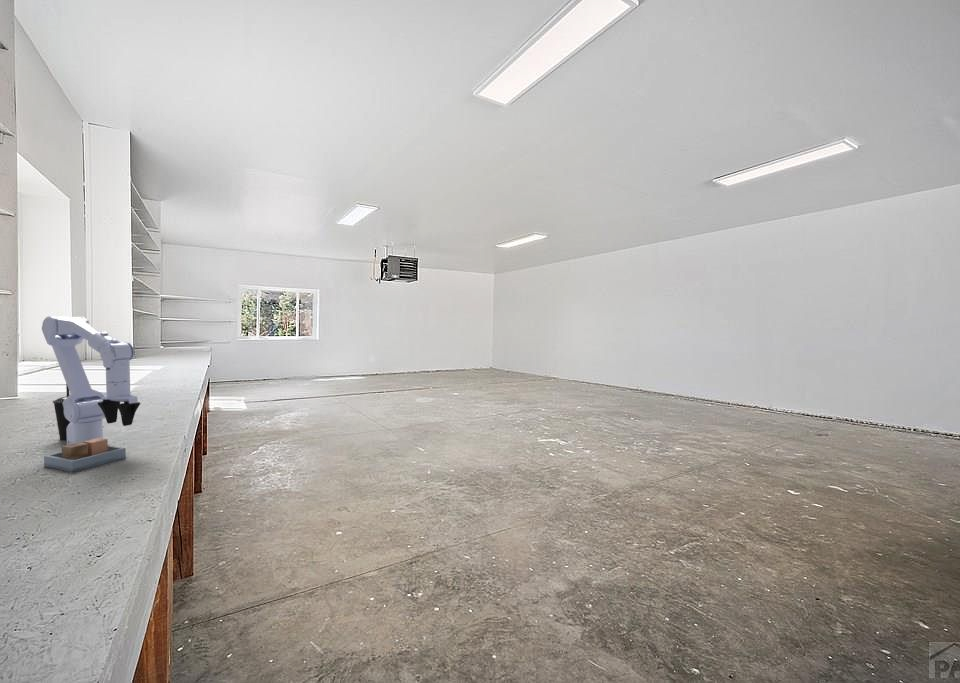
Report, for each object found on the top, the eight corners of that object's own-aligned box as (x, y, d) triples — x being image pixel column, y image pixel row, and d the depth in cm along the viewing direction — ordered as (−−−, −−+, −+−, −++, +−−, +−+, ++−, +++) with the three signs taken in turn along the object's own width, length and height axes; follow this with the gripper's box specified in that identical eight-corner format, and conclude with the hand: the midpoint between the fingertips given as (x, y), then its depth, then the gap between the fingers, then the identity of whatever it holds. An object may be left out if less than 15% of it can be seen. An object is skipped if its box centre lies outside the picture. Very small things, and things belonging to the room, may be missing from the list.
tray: (44, 466, 120) (43, 455, 120) (98, 452, 132) (97, 443, 132) (72, 472, 116) (72, 461, 116) (125, 457, 128) (125, 448, 128)
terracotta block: (99, 453, 129) (98, 437, 129) (108, 455, 128) (107, 439, 127) (83, 457, 125) (83, 441, 125) (92, 459, 124) (91, 442, 124)
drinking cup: (65, 442, 143) (63, 383, 142) (48, 440, 145) (45, 382, 144) (90, 436, 151) (88, 380, 150) (73, 434, 152) (71, 379, 151)
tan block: (79, 458, 124) (78, 442, 124) (88, 460, 123) (87, 443, 123) (62, 463, 120) (61, 446, 120) (71, 465, 119) (70, 447, 119)
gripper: (88, 381, 131) (89, 424, 132) (118, 384, 126) (120, 429, 127) (114, 378, 137) (115, 419, 138) (144, 381, 133) (145, 424, 133)
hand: (119, 424), depth 133 cm, fingers open, 7 cm apart
